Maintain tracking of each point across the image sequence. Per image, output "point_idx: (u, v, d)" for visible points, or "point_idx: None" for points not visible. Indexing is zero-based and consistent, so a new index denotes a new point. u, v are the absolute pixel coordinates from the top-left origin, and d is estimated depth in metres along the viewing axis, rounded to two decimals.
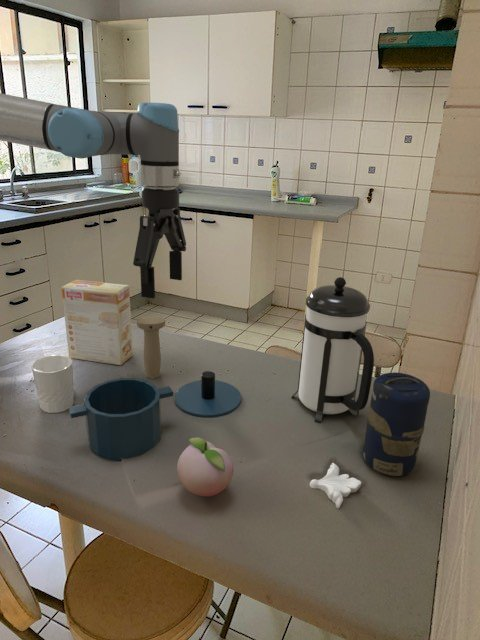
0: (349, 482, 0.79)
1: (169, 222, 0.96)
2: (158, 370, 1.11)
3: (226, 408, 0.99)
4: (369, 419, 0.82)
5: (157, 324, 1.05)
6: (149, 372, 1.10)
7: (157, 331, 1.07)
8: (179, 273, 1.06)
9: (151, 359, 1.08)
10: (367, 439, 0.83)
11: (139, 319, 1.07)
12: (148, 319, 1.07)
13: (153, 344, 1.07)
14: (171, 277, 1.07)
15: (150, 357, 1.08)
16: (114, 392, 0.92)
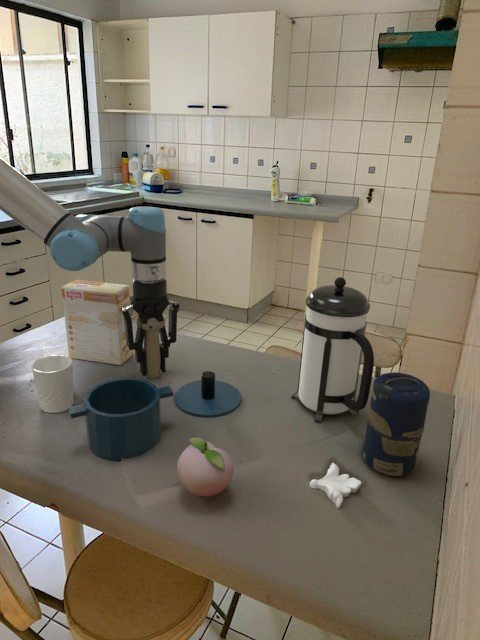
0: (349, 482, 0.79)
1: None
2: (158, 370, 1.11)
3: (226, 408, 0.99)
4: (369, 419, 0.82)
5: (157, 324, 1.05)
6: (149, 372, 1.10)
7: (157, 331, 1.07)
8: (161, 365, 1.11)
9: (151, 359, 1.08)
10: (367, 439, 0.83)
11: None
12: (148, 319, 1.07)
13: (153, 344, 1.07)
14: None
15: (150, 357, 1.08)
16: (114, 392, 0.92)
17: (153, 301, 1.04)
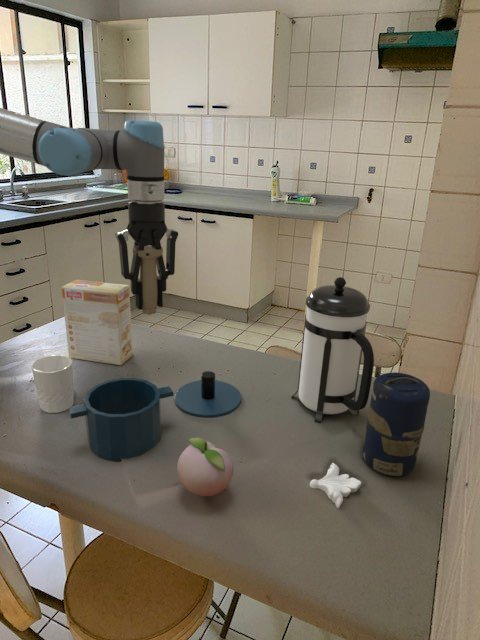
0: (349, 482, 0.79)
1: None
2: (155, 304, 1.04)
3: (226, 408, 0.99)
4: (369, 419, 0.82)
5: (154, 252, 0.99)
6: (145, 306, 1.03)
7: (154, 260, 1.01)
8: (158, 299, 1.05)
9: (148, 291, 1.02)
10: (367, 439, 0.83)
11: None
12: (145, 247, 1.01)
13: (150, 274, 1.01)
14: None
15: (146, 288, 1.02)
16: (114, 392, 0.92)
17: (150, 226, 0.98)
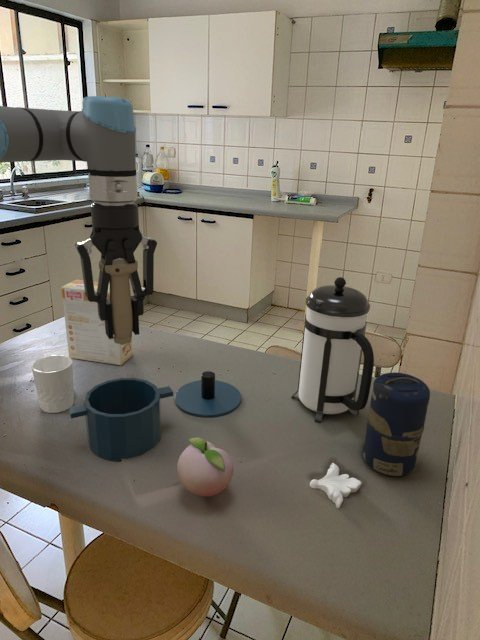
0: (349, 482, 0.79)
1: None
2: (129, 331, 0.83)
3: (226, 408, 0.99)
4: (369, 419, 0.82)
5: (126, 267, 0.77)
6: (117, 334, 0.82)
7: (127, 277, 0.79)
8: (134, 325, 0.83)
9: (120, 315, 0.81)
10: (367, 439, 0.83)
11: None
12: (115, 260, 0.79)
13: (122, 294, 0.79)
14: None
15: (117, 312, 0.80)
16: (114, 392, 0.92)
17: (120, 234, 0.76)
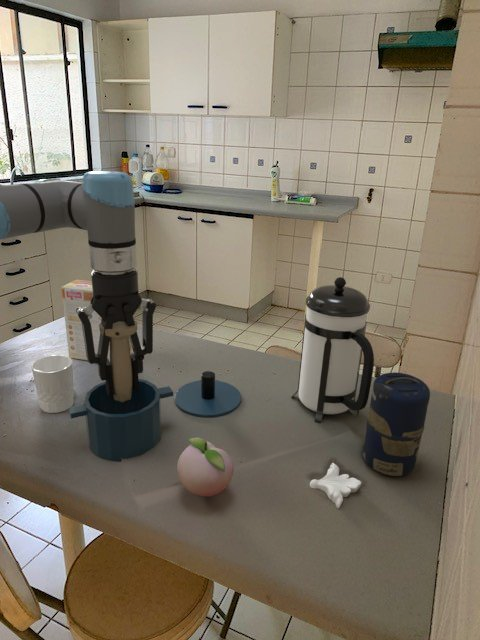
0: (349, 482, 0.79)
1: None
2: (129, 389, 0.85)
3: (226, 408, 0.99)
4: (369, 419, 0.82)
5: (126, 330, 0.79)
6: (117, 392, 0.84)
7: (126, 339, 0.81)
8: (134, 383, 0.85)
9: (119, 375, 0.83)
10: (367, 439, 0.83)
11: None
12: None
13: (121, 355, 0.81)
14: None
15: (117, 372, 0.82)
16: None
17: (120, 299, 0.78)
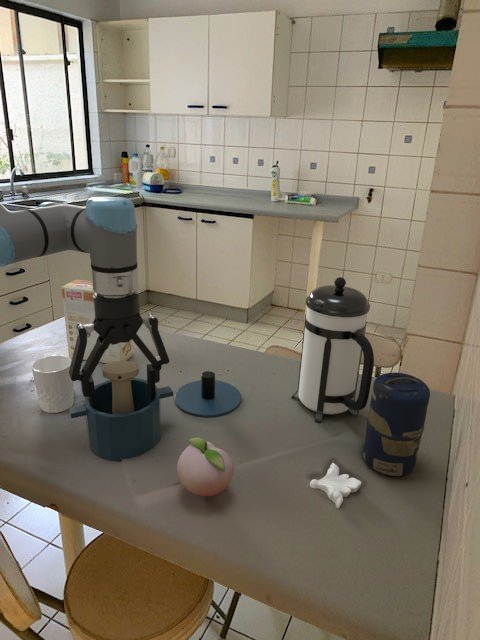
0: (349, 482, 0.79)
1: (126, 331, 0.80)
2: None
3: (226, 408, 0.99)
4: (369, 419, 0.82)
5: (128, 374, 0.82)
6: None
7: (128, 381, 0.84)
8: (151, 392, 0.88)
9: None
10: (367, 439, 0.83)
11: (105, 366, 0.84)
12: (117, 365, 0.85)
13: (124, 397, 0.85)
14: (148, 393, 0.90)
15: (119, 413, 0.85)
16: None
17: (121, 321, 0.80)
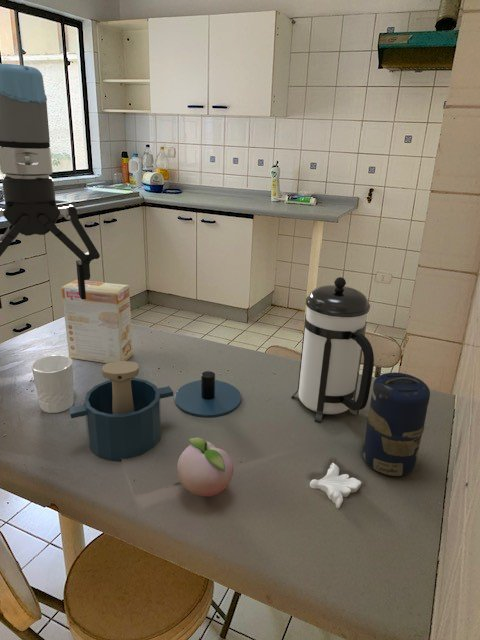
0: (349, 482, 0.79)
1: (40, 222, 0.75)
2: None
3: (226, 408, 0.99)
4: (369, 419, 0.82)
5: (128, 374, 0.82)
6: None
7: (128, 381, 0.84)
8: (80, 290, 0.83)
9: None
10: (367, 439, 0.83)
11: (105, 366, 0.84)
12: (117, 365, 0.85)
13: (124, 397, 0.85)
14: (79, 293, 0.85)
15: (119, 413, 0.85)
16: None
17: (35, 209, 0.74)
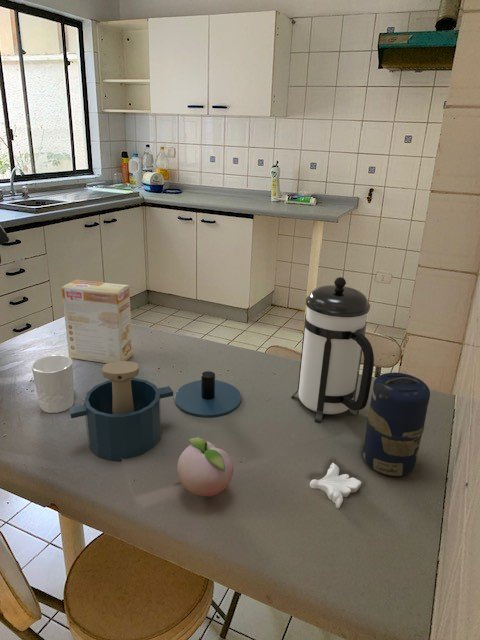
0: (349, 482, 0.79)
1: None
2: None
3: (226, 408, 0.99)
4: (369, 419, 0.82)
5: (128, 374, 0.82)
6: None
7: (128, 381, 0.84)
8: None
9: None
10: (367, 439, 0.83)
11: (105, 366, 0.84)
12: (117, 365, 0.85)
13: (124, 397, 0.85)
14: None
15: (119, 413, 0.85)
16: None
17: None
